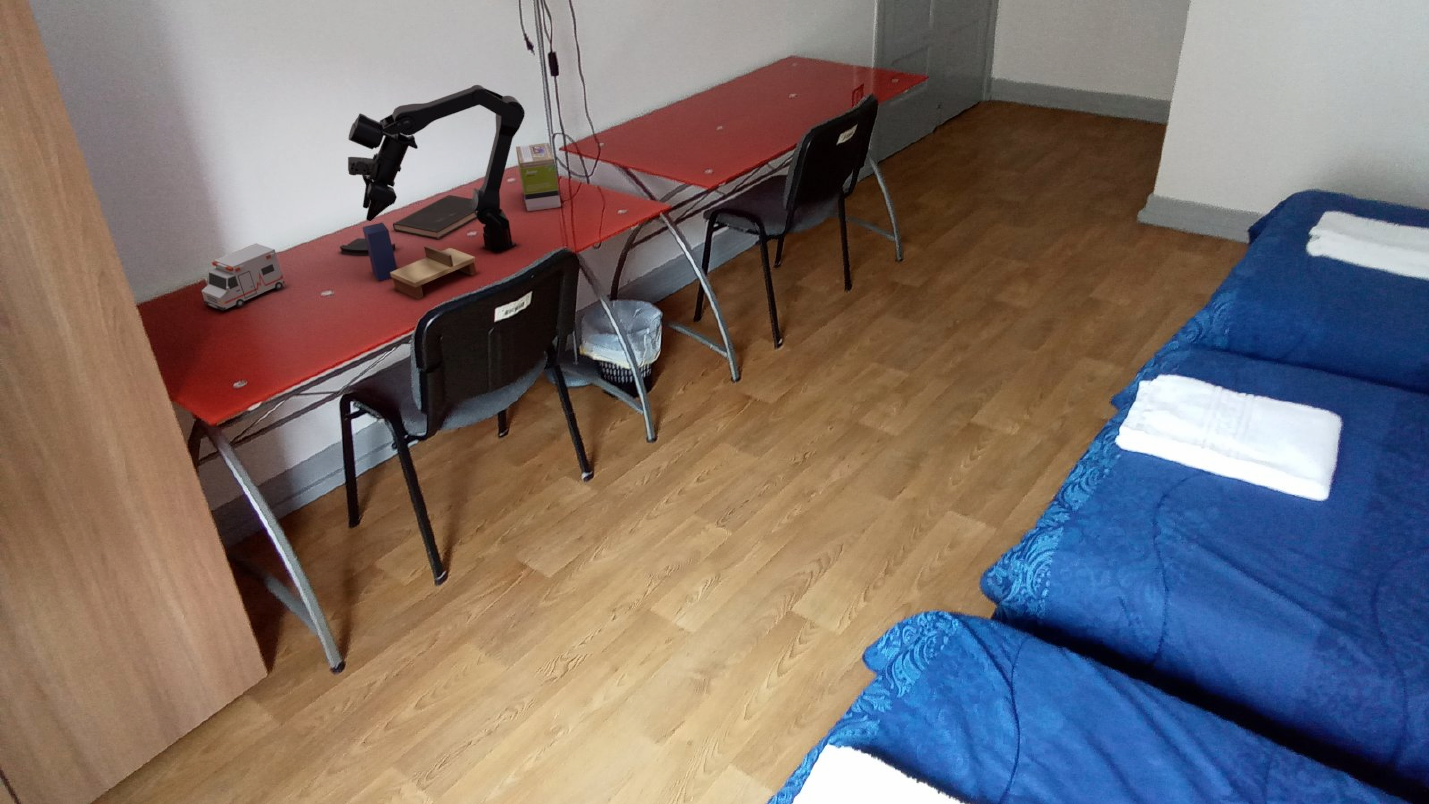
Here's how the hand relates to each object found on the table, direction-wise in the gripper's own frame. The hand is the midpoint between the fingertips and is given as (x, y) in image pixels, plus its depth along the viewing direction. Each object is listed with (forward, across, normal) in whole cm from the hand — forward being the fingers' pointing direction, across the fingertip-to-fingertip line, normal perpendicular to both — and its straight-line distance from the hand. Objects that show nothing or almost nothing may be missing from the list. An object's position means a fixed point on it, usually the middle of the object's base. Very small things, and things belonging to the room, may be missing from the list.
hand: (366, 214), depth 244 cm
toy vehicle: (+30, +2, -18) cm, 35 cm away
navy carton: (+12, +4, +9) cm, 15 cm away
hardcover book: (+2, -26, +25) cm, 36 cm away
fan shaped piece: (+14, -14, +7) cm, 21 cm away
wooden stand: (+6, +14, +18) cm, 24 cm away
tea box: (-14, -28, +49) cm, 58 cm away
